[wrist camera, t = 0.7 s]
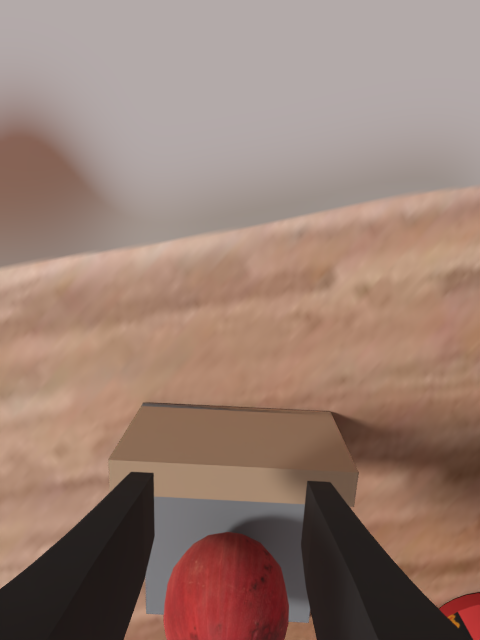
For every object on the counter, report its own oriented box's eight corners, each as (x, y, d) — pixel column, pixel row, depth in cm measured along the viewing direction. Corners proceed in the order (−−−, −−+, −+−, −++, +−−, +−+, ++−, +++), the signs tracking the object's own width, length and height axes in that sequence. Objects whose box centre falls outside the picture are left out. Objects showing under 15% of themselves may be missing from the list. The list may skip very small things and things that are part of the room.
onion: (271, 488, 20) (285, 652, 12) (289, 572, 21) (312, 770, 13) (169, 505, 20) (120, 673, 12) (193, 585, 21) (160, 785, 14)
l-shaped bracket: (307, 616, 22) (324, 722, 17) (148, 607, 22) (120, 710, 18) (330, 411, 19) (358, 472, 14) (143, 402, 19) (108, 459, 14)
